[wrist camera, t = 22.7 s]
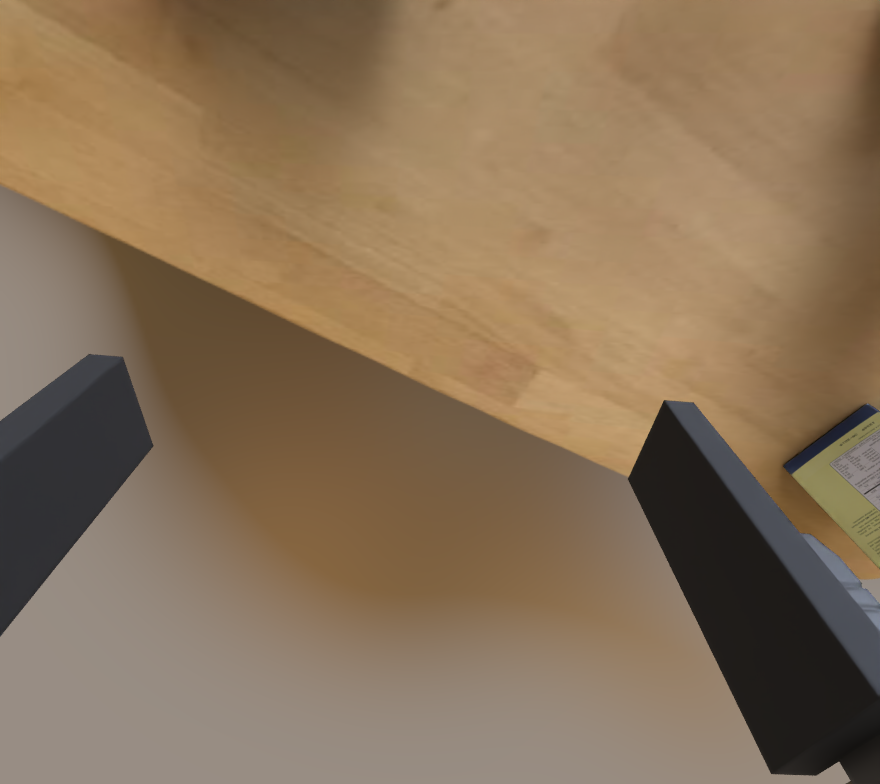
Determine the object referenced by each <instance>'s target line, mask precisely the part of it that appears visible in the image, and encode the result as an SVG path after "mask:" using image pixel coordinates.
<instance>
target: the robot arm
mask: <svg viewBox="0 0 880 784" xmlns="http://www.w3.org/2000/svg"><path fill="white" fill-rule="evenodd" d="M152 447H153V444H152V441H151V438H150V435H149V432H148V429H147V426H146V424H145V420H144V417H143V414H142V411H141V409H140V406H139V403H138V400H137V397H136V394H135V391H134V388H133V385H132V383H131V379H130V376H129V373H128V371H127V368H126V365H125V362H124V359H123V357H117V356H104V355H92V354H89V355H87V356H86V357H85V358H83V359H82V360H81V361H79V362H78V363H77V364H75V365H74V366H73V367H71V368H70V369H69V370H67V371H66V372H65V373H63V374H62V375H61V376H60V377H58V378H57V379H55V380H54V381H53V382H51V383H50V384H49V385H47V386H46V387H45V388H43V389H42V390H41V391H39V392H38V393H37V394H35V395H34V396H33V397H31V398H30V399H29V400H28V401H26V402H25V403H23V404H22V405H21V406H19V407H18V408H17V409H16V410H14V411H13V412H12V413H10V414H9V415H8V416H6V417H5V418H4V419H2V420H1V421H0V636H1V635H2V634H3V632H4V631H5V630H6V629H7V627H8V626H9V625H10V624H11V622H12V621H13V620H14V619H15V617H16V616H17V615H18V614H19V612H20V611H21V610H22V609H23V608H24V606H25V605H26V604H27V603H28V601H29V600H30V599H31V597H32V596H33V595H34V594H35V592H36V591H37V590H38V589H39V588H40V586H41V585H42V584H43V583H44V581H45V580H46V579H47V578H48V576H49V575H50V574H51V573H52V571H53V570H54V569H55V568H56V566H57V565H58V564H59V563H60V561H61V560H62V559H63V558H64V557H65V555H66V554H67V553H68V552H69V550H70V549H71V548H72V547H73V545H74V544H75V543H76V542H77V540H78V539H79V538H80V537H81V535H82V534H83V533H84V532H85V530H86V529H87V528H88V527H89V525H90V524H91V523H92V522H93V520H94V519H95V518H96V517H97V516H98V514H99V513H100V512H101V511H102V509H103V508H104V507H105V506H106V504H107V503H108V502H109V501H110V499H111V498H112V497H113V496H114V494H115V493H116V492H117V491H118V489H119V488H120V487H121V486H122V484H123V483H124V482H125V481H126V479H127V478H128V477H129V476H130V474H131V473H132V472H133V471H134V470H135V468H136V467H137V466H138V465H139V463H140V462H141V461H142V460H143V458H144V457H145V456H146V454H147V453H148V452H149V451H150V450H151V448H152ZM628 480H629V482H630V484H631V486H632V489H633V491H634V493H635V495H636V496H637V499H638V501H639V503H640V505H641V507H642V509H643V511H644V513H645V515H646V517H647V519H648V521H649V523H650V526H651V528H652V530H653V532H654V534H655V536H656V538H657V540H658V542H659V544H660V546H661V548H662V550H663V552H664V554H665V556H666V558H667V561H668V562H669V565H670V567H671V568H672V571H673V573H674V575H675V577H676V579H677V581H678V583H679V585H680V587H681V589H682V591H683V593H684V596H685V598H686V600H687V602H688V604H689V605H690V608H691V610H692V612H693V614H694V616H695V618H696V620H697V622H698V624H699V626H700V628H701V630H702V632H703V635H704V637H705V639H706V641H707V643H708V645H709V647H710V649H711V651H712V653H713V655H714V657H715V659H716V661H717V663H718V665H719V668H720V670H721V671H722V674H723V676H724V678H725V680H726V682H727V684H728V686H729V688H730V690H731V692H732V694H733V696H734V698H735V700H736V702H737V705H738V707H739V709H740V711H741V713H742V715H743V717H744V719H745V721H746V723H747V725H748V727H749V729H750V731H751V733H752V735H753V737H754V740H755V741H756V744H757V746H758V748H759V750H760V752H761V754H762V756H763V758H764V760H765V762H766V764H767V766H768V768H769V770H770V772H771V774H785V775H786V774H787V775H818V774H819V773H821V772H823V771H824V770H826V769H827V768H829V767H831V766H832V765H834V764H835V763H837V762H840V763H841V765H842V767H843V769H844V770H845V772H846V774H847V775H848V777H849V779H850V780H851V781H850V782H848V783H846V784H880V604H879V603H878V602H877V600H876V599H875V598H874V597H873V596H872V595H871V593H870V592H869V591H868V590H867V589H864V588H862V583H861V582H860V580H859V579H858V578H857V577H856V576H855V575H854V573H853V572H852V571H851V570H850V569H849V568H848V566H847V565H846V564H845V563H844V562H843V561H842V559H841V558H840V557H839V556H838V555H836V554H835V553H834V552H832V551H831V550H830V549H829V548H827V547H826V546H825V545H824V544H822V543H821V542H820V541H819V540H817V539H816V538H815V537H814V536H812V535H811V534H802V533H799V531H798V530H797V529H796V528H795V526H794V525H793V524H792V523H791V521H790V520H789V519H788V518H787V517H786V515H785V514H784V513H783V512H782V510H781V509H780V508H779V507H778V506H777V504H776V503H775V502H774V501H773V499H772V498H771V497H770V496H769V495H768V493H767V492H766V491H765V490H764V488H763V487H762V486H761V485H760V483H759V482H758V481H757V480H756V479H755V477H754V476H753V475H752V474H751V472H750V471H749V470H748V469H747V468H746V466H745V465H744V464H743V463H742V461H741V460H740V459H739V458H738V457H737V455H736V454H735V453H734V452H733V450H732V449H731V448H730V447H729V445H728V444H727V443H726V442H725V441H724V439H723V438H722V437H721V436H720V434H719V433H718V432H717V431H716V430H715V428H714V427H713V426H712V425H711V423H710V422H709V421H708V420H707V419H706V417H705V416H704V415H703V414H702V412H701V411H700V410H699V409H698V407H697V406H696V405H695V404H694V403H692V402H679V401H667V400H664V402H663V404H662V406H661V408H660V410H659V413H658V415H657V417H656V419H655V421H654V423H653V426H652V428H651V430H650V432H649V434H648V437H647V439H646V441H645V443H644V445H643V447H642V450H641V452H640V454H639V456H638V458H637V461H636V463H635V465H634V467H633V469H632V471H631V474H630V476H629V478H628Z"/></svg>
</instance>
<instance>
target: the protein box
mask: <svg viewBox="0 0 880 784" xmlns="http://www.w3.org/2000/svg"><path fill="white" fill-rule="evenodd" d="M783 467H784V468H785V469H786V470H787V471H788V472H789V473H790V474H791V475H792V477H793V478H794V479H795V480H796V481H797V482H798V483H799V484H800V485H801V486H802V487H803V488H804V490H805V491H806V492H807V493H808V494H809V495H810V496H811V497H812V498H813V499H814V500H815V501H816V502H817V503H818V504H819V506H820V507H821V508H822V509H823V510H824V511H825V512H826V513H827V514H828V515H829V516H830V517H831V518H832V519H833V520H834V521H835V522H836V523H837V524H838V526H839V527H840V528H841V529H842V530H843V531H844V532H845V533H846V534H847V535H848V536H849V537H850V538H851V539H852V540H853V541H854V542H855V544H856V545H857V546H858V547H859V548H860V549H861V550H862V551H863V552H864V553H865V554H866V555H867V556H868V557H869V558H870V559H871V561H872V562H873V563H874V564H875V565H876V566H877V567H878V568H879V569H880V411H879V410H877V409H876V408H874V407H873V406H871V405H870V404H866V405H864V406H863V407H862V408H860V409H859V410H858V411H856V412H855V413H854V414H852V415H851V416H850V417H848V418H847V419H846V420H844V421H843V422H842V423H840V424H839V425H838V426H836V427H835V428H833V429H832V430H831V431H829V432H828V433H827V434H825V435H824V436H823V437H821V438H820V439H819V440H817V441H816V442H815V443H813V444H812V445H811V446H809V447H808V448H807V449H805V450H804V451H803V452H801V453H800V454H799V455H797V456H796V457H795V458H793V459H792V460H790V461H789V462H788V463H786V464H785V465H784V466H783Z"/></svg>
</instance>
